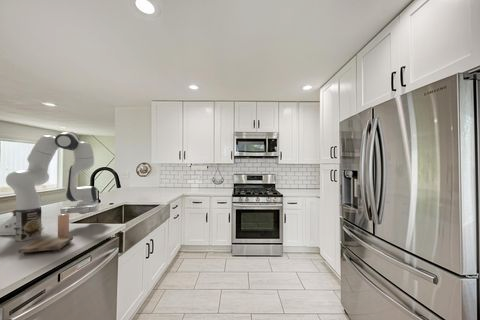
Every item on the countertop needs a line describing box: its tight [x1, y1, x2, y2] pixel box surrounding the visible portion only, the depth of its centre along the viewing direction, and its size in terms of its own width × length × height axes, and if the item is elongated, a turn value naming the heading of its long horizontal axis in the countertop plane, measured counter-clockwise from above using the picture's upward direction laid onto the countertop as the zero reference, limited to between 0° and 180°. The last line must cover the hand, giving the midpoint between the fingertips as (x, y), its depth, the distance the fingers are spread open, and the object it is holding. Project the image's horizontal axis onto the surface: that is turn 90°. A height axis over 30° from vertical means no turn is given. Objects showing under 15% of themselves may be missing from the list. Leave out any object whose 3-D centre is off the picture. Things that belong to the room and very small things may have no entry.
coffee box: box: [14, 208, 42, 242], centre depth 124 cm, size 9×6×16 cm
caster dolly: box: [17, 236, 74, 256], centre depth 108 cm, size 16×14×4 cm
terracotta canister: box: [57, 213, 70, 238], centre depth 123 cm, size 5×5×14 cm
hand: (74, 211), depth 135 cm, fingers open, 8 cm apart
